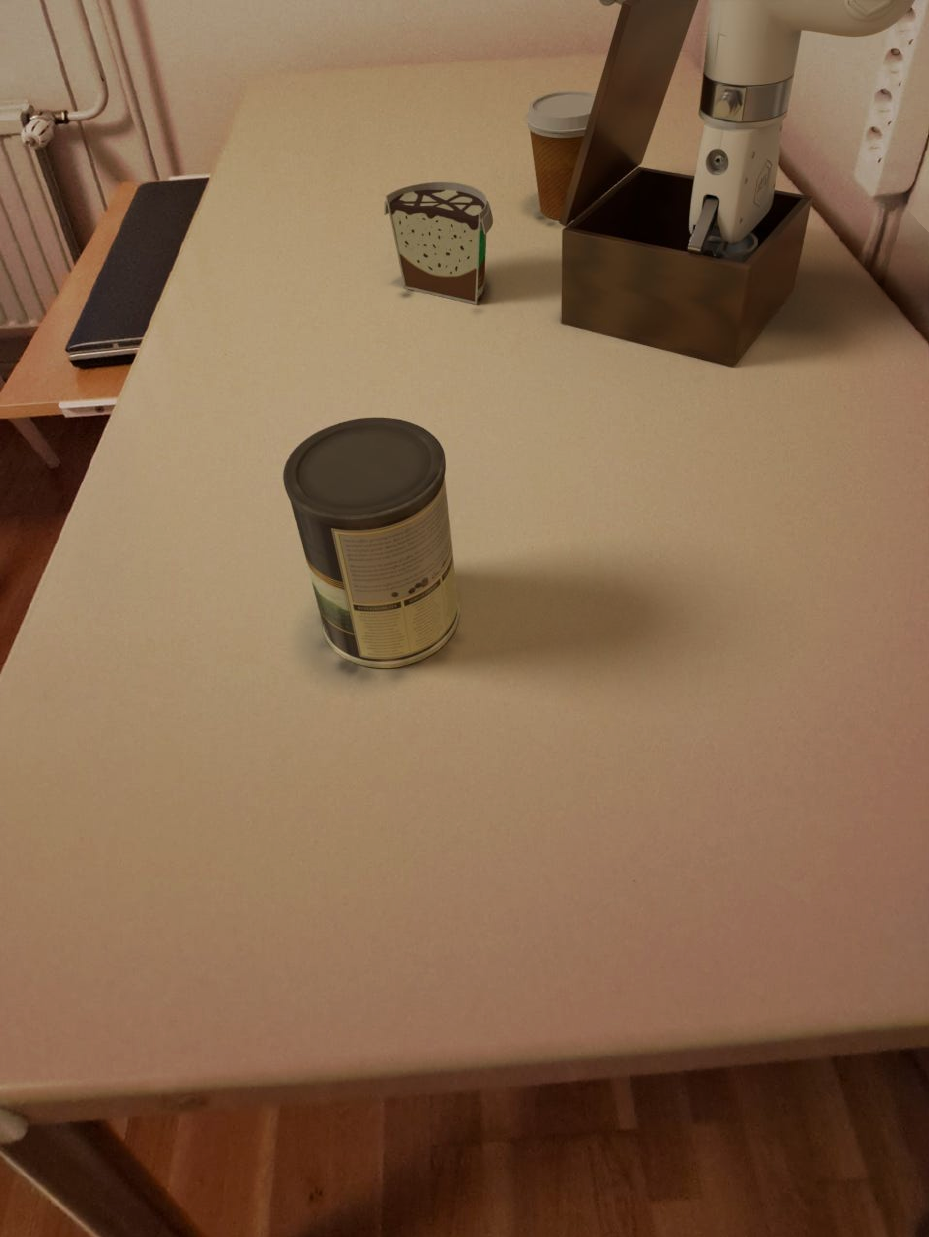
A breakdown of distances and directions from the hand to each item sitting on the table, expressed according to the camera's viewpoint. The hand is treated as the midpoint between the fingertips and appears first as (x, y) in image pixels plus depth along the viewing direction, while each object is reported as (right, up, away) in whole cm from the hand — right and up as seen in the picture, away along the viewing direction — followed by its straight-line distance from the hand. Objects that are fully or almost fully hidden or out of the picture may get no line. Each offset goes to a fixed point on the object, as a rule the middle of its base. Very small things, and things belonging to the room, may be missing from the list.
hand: (717, 289), depth 94 cm
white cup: (0, -1, +1) cm, 2 cm away
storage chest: (-3, -1, +4) cm, 5 cm away
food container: (-26, +4, +10) cm, 29 cm away
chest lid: (-9, +15, -8) cm, 19 cm away
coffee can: (-31, -33, -24) cm, 51 cm away
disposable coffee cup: (-13, +17, +22) cm, 31 cm away
